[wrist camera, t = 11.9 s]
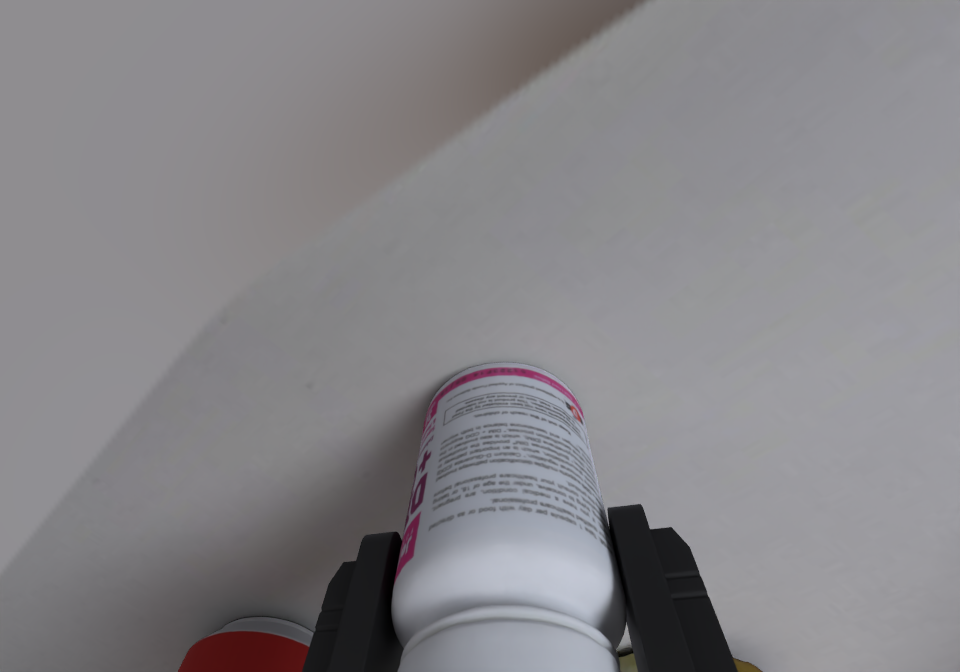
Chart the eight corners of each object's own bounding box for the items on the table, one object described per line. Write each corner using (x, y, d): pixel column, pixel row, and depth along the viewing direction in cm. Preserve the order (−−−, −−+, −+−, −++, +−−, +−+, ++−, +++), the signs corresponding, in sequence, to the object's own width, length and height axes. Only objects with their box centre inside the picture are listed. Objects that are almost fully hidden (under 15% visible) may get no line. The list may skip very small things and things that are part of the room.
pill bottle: (403, 376, 15) (311, 705, 7) (566, 339, 14) (646, 664, 7) (451, 491, 17) (419, 831, 10) (594, 465, 16) (677, 810, 9)
